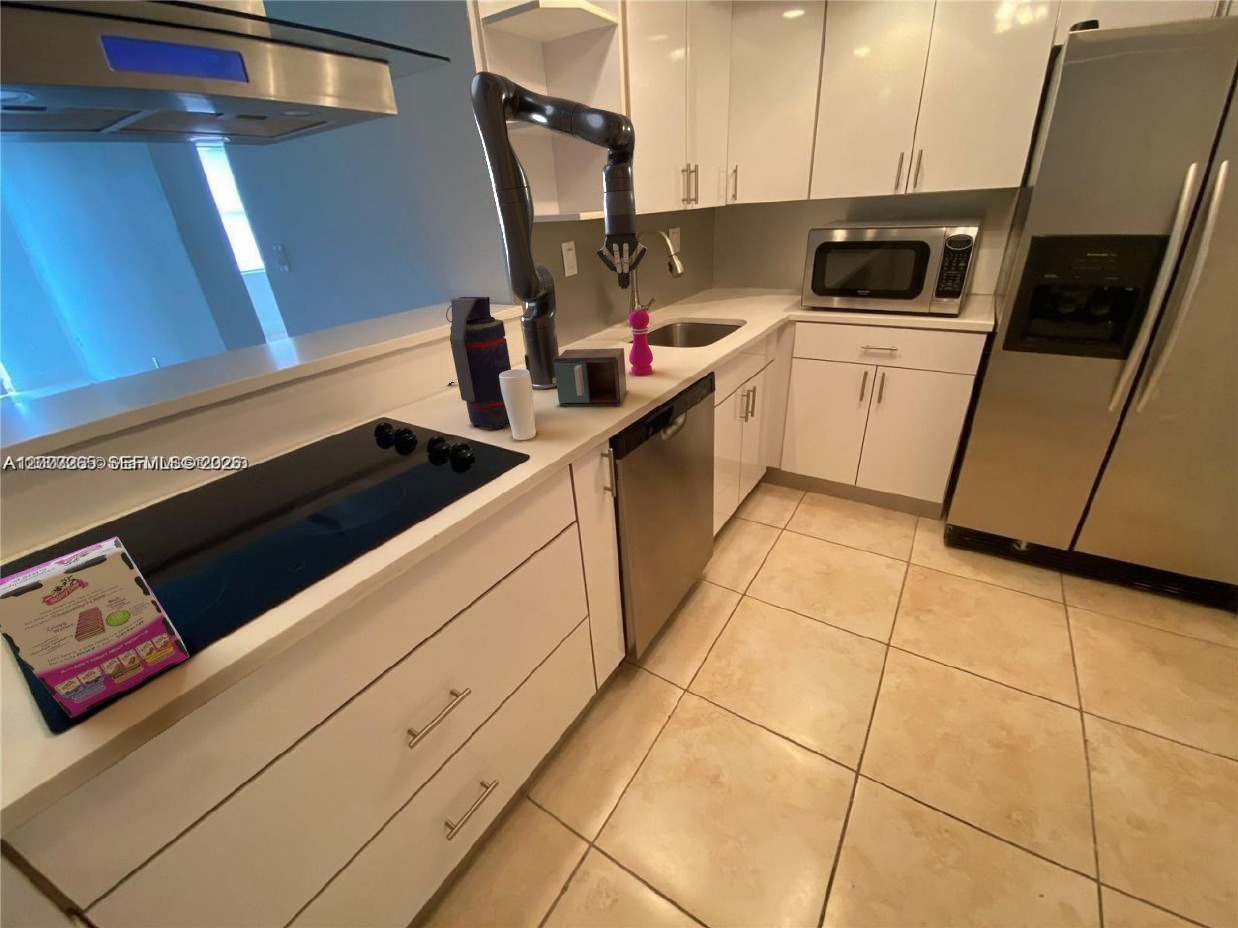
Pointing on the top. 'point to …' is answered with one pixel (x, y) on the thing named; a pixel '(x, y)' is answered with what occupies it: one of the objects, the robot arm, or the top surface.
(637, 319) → the pepper mill
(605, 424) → the top surface
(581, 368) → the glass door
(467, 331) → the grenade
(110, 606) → the candy bar box
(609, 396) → the cabinet
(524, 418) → the drinking glass
